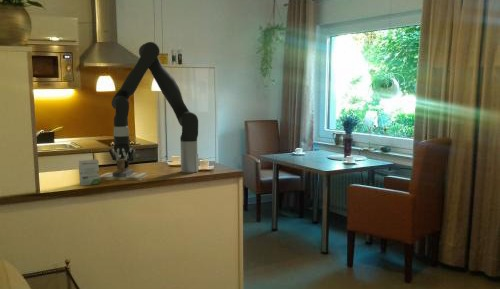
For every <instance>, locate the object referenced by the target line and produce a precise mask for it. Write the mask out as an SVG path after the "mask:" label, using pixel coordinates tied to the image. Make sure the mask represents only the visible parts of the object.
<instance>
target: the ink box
mask: <svg viewBox="0 0 500 289" xmlns="http://www.w3.org/2000/svg"><path fill="white" fill-rule="evenodd" d="M78 171H79V173H78V174H79V185H80V186H90V185H91V186H92V185H99V184H100V180H99V176H100V167H99V160H98V159H82V160H78Z"/></svg>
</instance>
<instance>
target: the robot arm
mask: <svg viewBox="0 0 500 289" xmlns="http://www.w3.org/2000/svg"><path fill="white" fill-rule="evenodd" d="M138 54H139V59H138V61H137V62H136V64H135V65H134V66H133V68H132V69H131V71H130V72H129V74H128V75H126V78H125V80H124V81H123V83H122V85H121V86H120V88H119V89H118V91H116V93H115V94H114V96H113V97H112V99H111V106H112V108H113V109H115V115H114V116H113V144H114V146H113V147H112V148H110V149H108V152H109V154H110V156H111V157H110V158H112V160H113V161H115V162H117V161H118V160H120V159H121V157H122V156H123V157H124V158H123V159H125V168H128V169H129V167H130V163H129V162H130V161H131V160H132V159H133V158H134V154H135V152H136V148H132V147H131V145H130V131H129V111H130V103H129V98H130V97H131V96H133V95H134V94H135V92H136V90H137V88H138V87H139V86H140V83H141V81H142V80H143V78H144V76H145V75H146V72H148V70H149V71H150V73H151V75H152V76H153V78H154V81H155V82H156V85H157V86H158V88H159V89H160V92H161V93H162V95H163V96H164V97H165V99H166V101H167V103H168V104H169V106H170V108H172V110H173V112H174V115H175V116H176V119H177V121H178V124H179V125H180V127H181V135H180V170H181V171H180V172H182V173H188V174H189V173H190V174H191V173H198V171H199V153H198V137H199V118H198V116H197V114H195V113H194V112H191V111H190V109H189V108H188V107H187V105H186V103H185V102H184V99H183V96H182V93H181V90H180V88H179V87H180V86H179V85H178V84H177V81H176V80H175V78H174V77H173V76H172V75H171V73H170V72H169V71H168V70H167V69H166V68H165V67H164V65H163V64H162V63H161V61H160V59H159V55H160V47H159V45H158V43H156V42H153V41H147V42H145V43H143V44H142V45H140V47H139V49H138ZM115 153H116V154H115Z"/></svg>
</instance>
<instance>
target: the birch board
mask: <svg viewBox="0 0 500 289" xmlns="http://www.w3.org/2000/svg"><path fill="white" fill-rule="evenodd" d="M113 173H114V172H106V173H104V174H101V175H99V181H142V180H143V179H144V178H146V177H148V172H133V174H131V175H129V176H127V177H113Z"/></svg>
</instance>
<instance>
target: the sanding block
mask: <svg viewBox="0 0 500 289" xmlns="http://www.w3.org/2000/svg"><path fill="white" fill-rule="evenodd" d="M116 169H117V170H116V171H113V172H112V173H113V177H127V176H129V175H131V174H133V173H134V169H133V168H132V169H131V168H130V169H129V167H128V168H125V158H120V160H118V161H116Z"/></svg>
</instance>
